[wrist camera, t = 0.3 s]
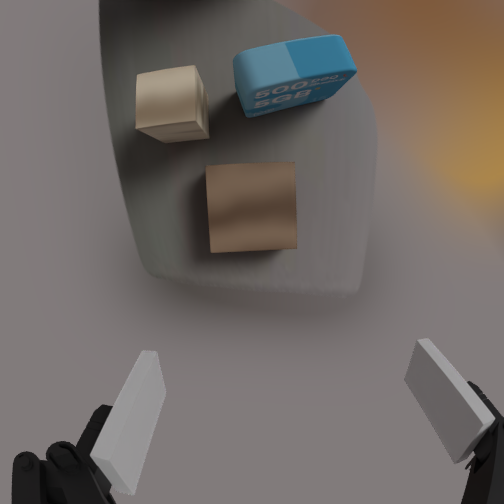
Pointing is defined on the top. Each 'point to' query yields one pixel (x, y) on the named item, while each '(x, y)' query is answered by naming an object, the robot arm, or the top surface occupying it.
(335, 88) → the data package
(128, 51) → the top surface
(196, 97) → the birch block
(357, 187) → the top surface
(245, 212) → the block
